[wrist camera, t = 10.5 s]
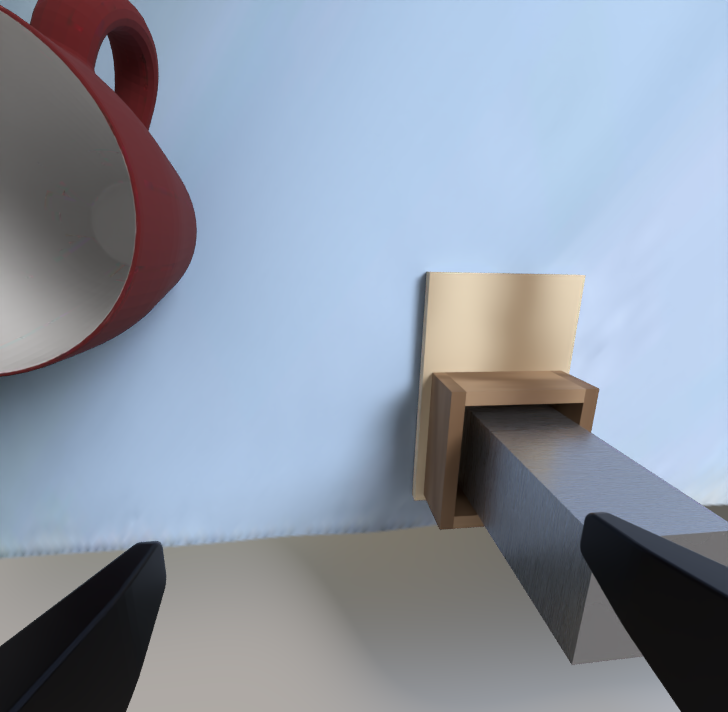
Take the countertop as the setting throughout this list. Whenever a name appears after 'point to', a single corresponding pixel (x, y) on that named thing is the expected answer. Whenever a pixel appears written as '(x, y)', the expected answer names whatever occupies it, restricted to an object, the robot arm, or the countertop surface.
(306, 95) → the countertop surface
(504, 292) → the stand
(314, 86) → the countertop surface
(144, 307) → the mug
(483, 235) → the countertop surface
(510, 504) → the post
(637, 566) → the robot arm
